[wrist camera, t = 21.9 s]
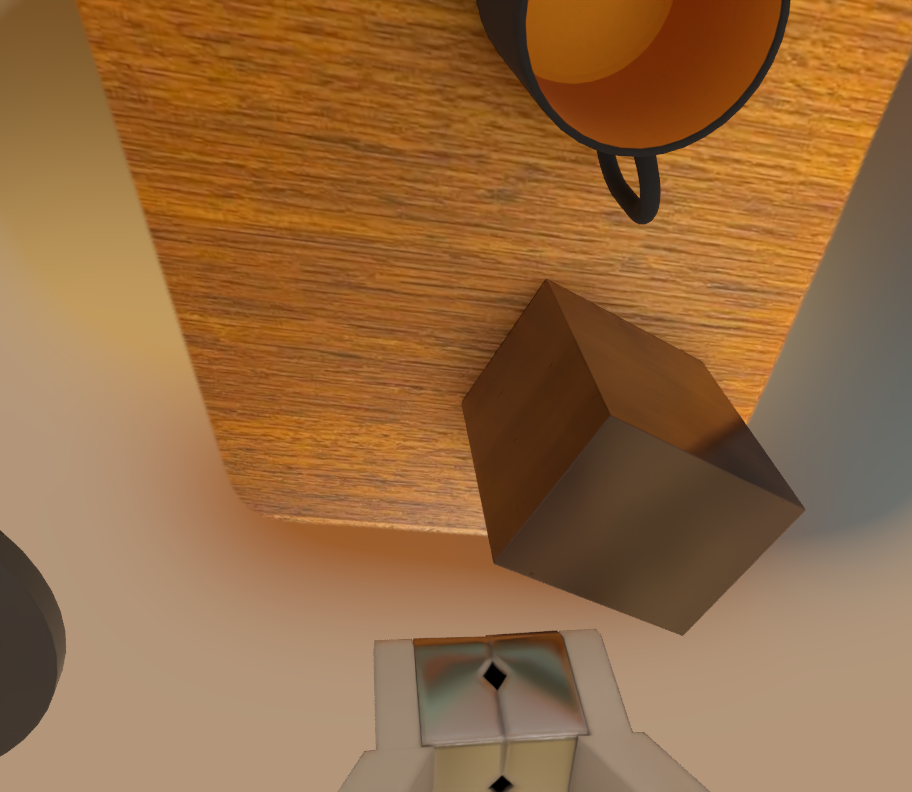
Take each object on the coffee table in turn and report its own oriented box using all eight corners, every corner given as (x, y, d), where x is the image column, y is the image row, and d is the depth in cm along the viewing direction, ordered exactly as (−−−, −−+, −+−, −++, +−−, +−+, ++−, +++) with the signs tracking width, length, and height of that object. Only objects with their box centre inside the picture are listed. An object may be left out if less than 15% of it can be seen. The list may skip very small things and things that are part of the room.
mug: (505, 188, 38) (551, 285, 29) (457, -119, 32) (496, -112, 23) (686, 149, 38) (786, 234, 29) (674, -167, 31) (798, -179, 23)
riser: (460, 403, 44) (493, 564, 34) (546, 278, 41) (610, 415, 30) (612, 471, 47) (683, 636, 37) (702, 362, 44) (806, 509, 34)
